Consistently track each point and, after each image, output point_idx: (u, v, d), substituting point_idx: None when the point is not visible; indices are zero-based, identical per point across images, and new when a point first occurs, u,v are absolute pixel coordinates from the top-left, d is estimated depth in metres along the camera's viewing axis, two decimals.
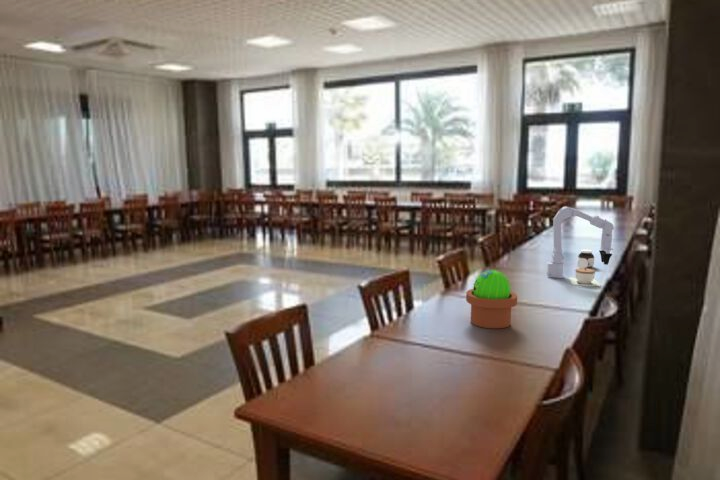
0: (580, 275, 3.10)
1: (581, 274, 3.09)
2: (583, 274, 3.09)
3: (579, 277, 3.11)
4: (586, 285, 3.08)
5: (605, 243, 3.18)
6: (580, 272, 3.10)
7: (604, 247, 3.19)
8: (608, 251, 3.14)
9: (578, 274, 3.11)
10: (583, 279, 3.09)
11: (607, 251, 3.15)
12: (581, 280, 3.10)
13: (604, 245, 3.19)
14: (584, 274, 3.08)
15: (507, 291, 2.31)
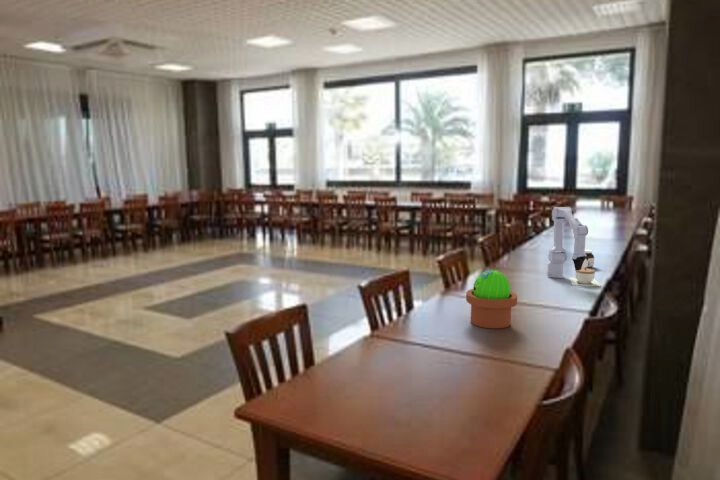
0: (580, 275, 3.10)
1: (581, 274, 3.09)
2: (583, 274, 3.09)
3: (579, 277, 3.11)
4: (586, 285, 3.08)
5: (576, 248, 3.01)
6: (580, 272, 3.10)
7: (575, 252, 3.02)
8: (574, 256, 2.98)
9: (578, 274, 3.11)
10: (583, 279, 3.09)
11: (573, 256, 2.98)
12: (581, 280, 3.10)
13: (575, 251, 3.02)
14: (584, 274, 3.08)
15: (507, 291, 2.31)
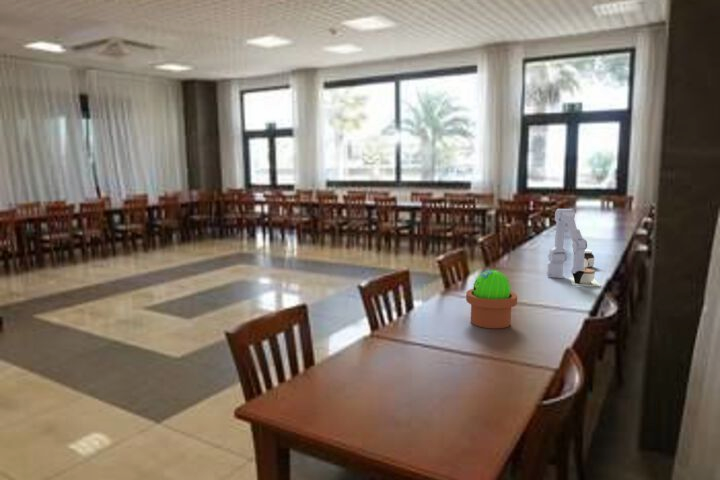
0: None
1: None
2: (583, 274, 3.09)
3: None
4: (586, 285, 3.08)
5: (575, 262, 3.03)
6: None
7: (574, 266, 3.03)
8: (573, 271, 2.99)
9: None
10: (583, 279, 3.09)
11: (572, 271, 3.00)
12: (581, 280, 3.10)
13: (574, 265, 3.03)
14: (584, 274, 3.08)
15: (507, 291, 2.31)
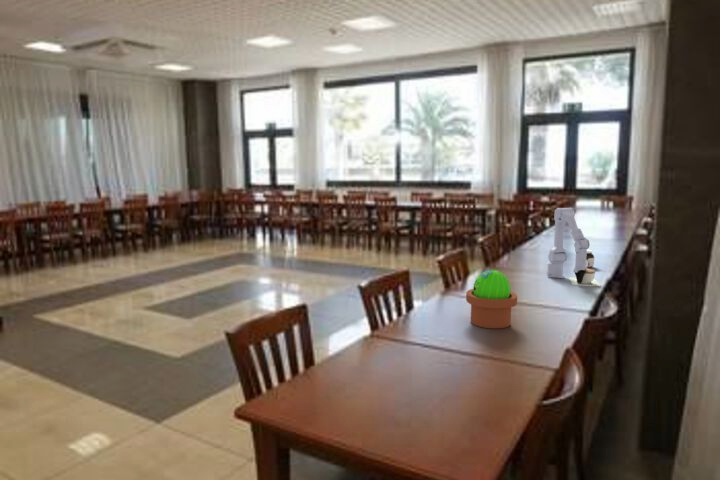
0: None
1: None
2: None
3: None
4: (586, 285, 3.08)
5: (577, 261, 3.05)
6: None
7: (576, 265, 3.06)
8: (575, 270, 3.02)
9: None
10: (583, 279, 3.09)
11: (574, 270, 3.02)
12: None
13: (576, 264, 3.06)
14: None
15: (507, 291, 2.31)
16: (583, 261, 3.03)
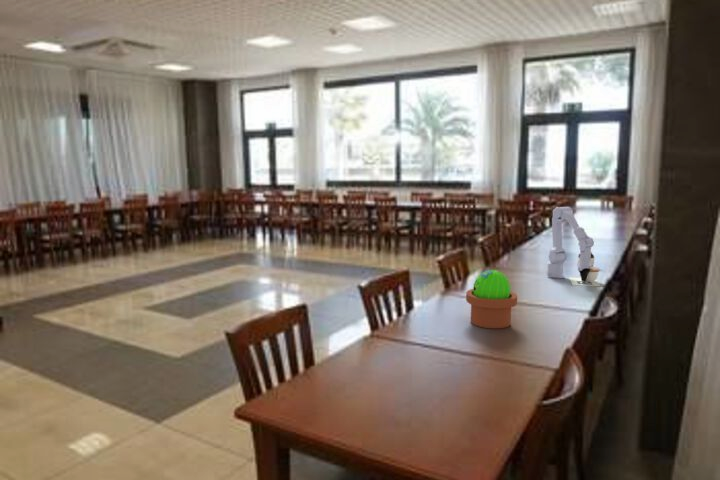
0: None
1: None
2: None
3: None
4: (586, 285, 3.08)
5: (581, 260, 3.09)
6: None
7: (580, 264, 3.10)
8: (580, 268, 3.06)
9: None
10: (587, 277, 3.14)
11: (579, 268, 3.06)
12: None
13: (580, 262, 3.10)
14: None
15: (507, 291, 2.31)
16: (587, 259, 3.08)
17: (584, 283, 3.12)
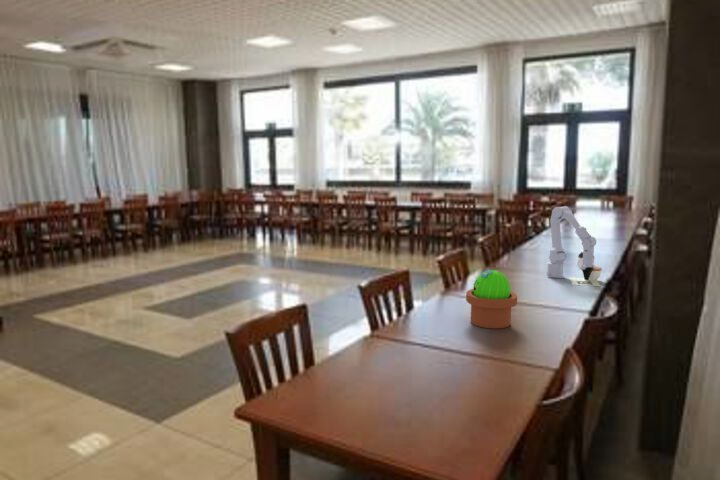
0: None
1: None
2: None
3: None
4: (586, 285, 3.08)
5: (584, 259, 3.12)
6: None
7: (583, 263, 3.13)
8: (583, 267, 3.09)
9: None
10: (590, 276, 3.17)
11: (582, 267, 3.09)
12: None
13: (583, 261, 3.13)
14: None
15: (507, 291, 2.31)
16: (590, 258, 3.11)
17: (584, 283, 3.12)
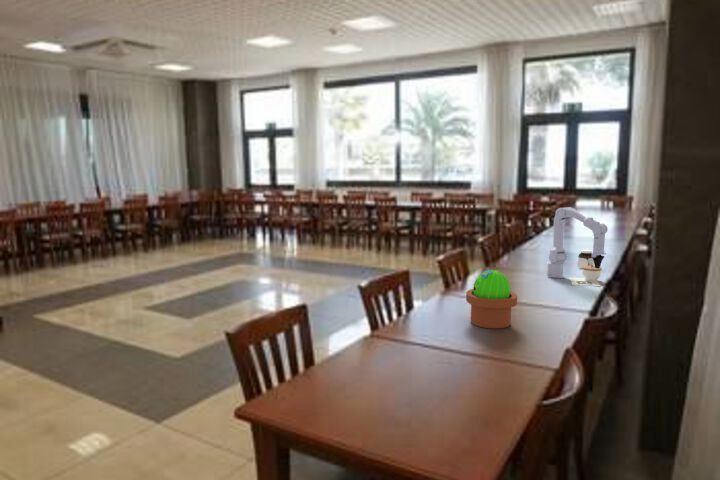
0: (587, 272, 3.17)
1: (588, 271, 3.17)
2: (590, 271, 3.16)
3: (586, 274, 3.18)
4: (586, 285, 3.08)
5: (595, 246, 3.03)
6: (587, 269, 3.17)
7: (594, 251, 3.04)
8: (593, 255, 3.00)
9: (585, 271, 3.18)
10: (590, 276, 3.17)
11: (592, 255, 3.00)
12: (588, 277, 3.18)
13: (594, 249, 3.04)
14: (591, 271, 3.16)
15: (507, 291, 2.31)
16: (601, 246, 3.01)
17: (584, 283, 3.12)
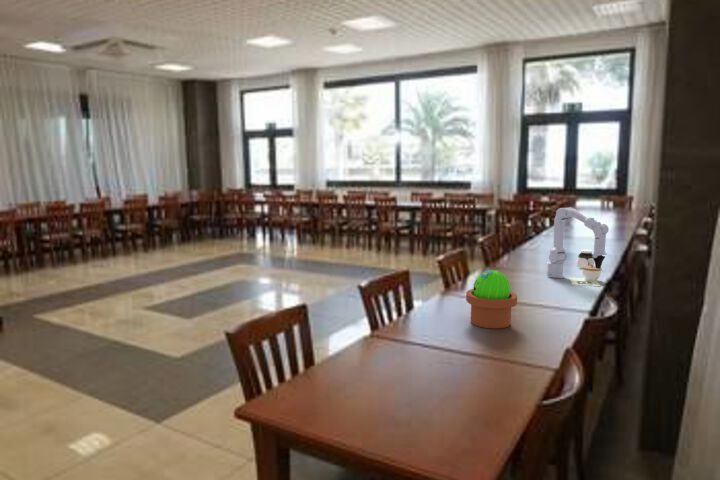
0: (587, 272, 3.17)
1: (588, 271, 3.17)
2: (590, 271, 3.16)
3: (586, 274, 3.18)
4: (586, 285, 3.08)
5: (596, 247, 3.03)
6: (587, 269, 3.17)
7: (595, 251, 3.04)
8: (594, 255, 2.99)
9: (585, 271, 3.18)
10: (590, 276, 3.17)
11: (593, 255, 3.00)
12: (588, 277, 3.18)
13: (595, 249, 3.03)
14: (591, 271, 3.16)
15: (507, 291, 2.31)
16: (602, 246, 3.01)
17: (584, 283, 3.12)
